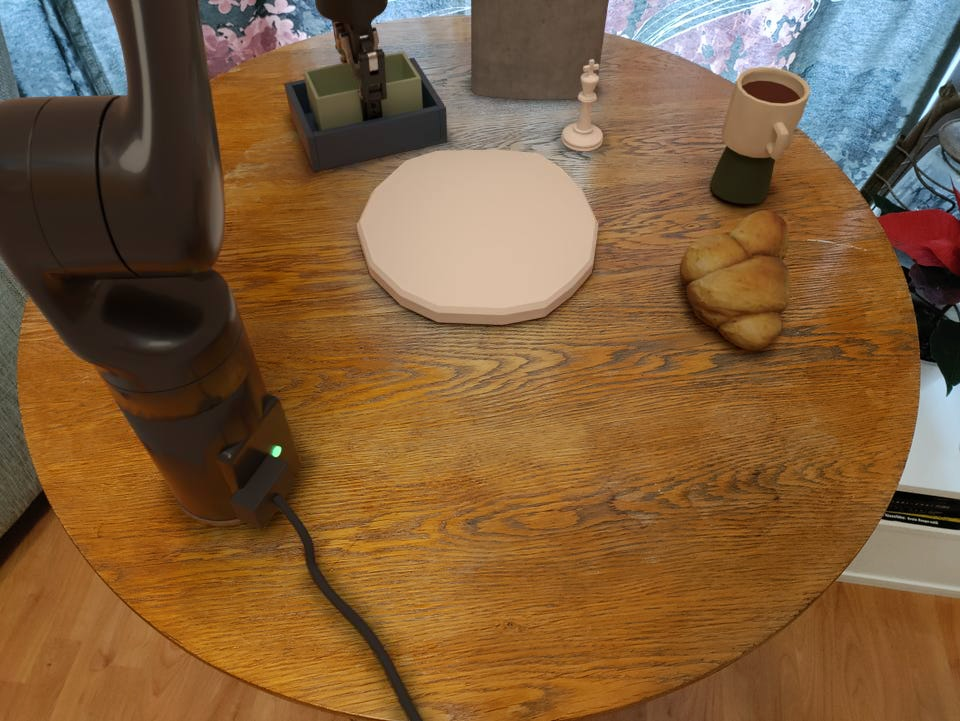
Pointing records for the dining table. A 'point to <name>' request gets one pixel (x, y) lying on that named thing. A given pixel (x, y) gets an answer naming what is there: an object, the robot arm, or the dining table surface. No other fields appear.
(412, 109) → the small bin
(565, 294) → the decorative plate
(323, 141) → the big bin
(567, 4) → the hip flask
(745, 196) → the character mug
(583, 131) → the chess piece
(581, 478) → the dining table surface
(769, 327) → the bread roll
